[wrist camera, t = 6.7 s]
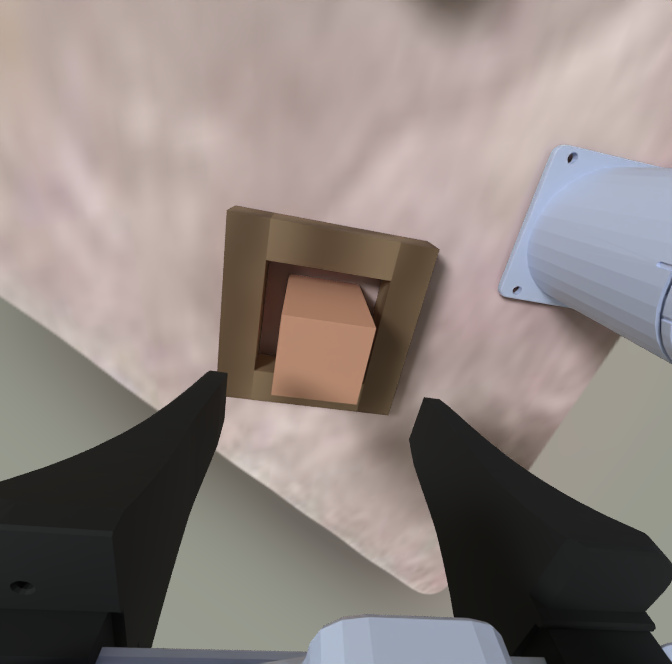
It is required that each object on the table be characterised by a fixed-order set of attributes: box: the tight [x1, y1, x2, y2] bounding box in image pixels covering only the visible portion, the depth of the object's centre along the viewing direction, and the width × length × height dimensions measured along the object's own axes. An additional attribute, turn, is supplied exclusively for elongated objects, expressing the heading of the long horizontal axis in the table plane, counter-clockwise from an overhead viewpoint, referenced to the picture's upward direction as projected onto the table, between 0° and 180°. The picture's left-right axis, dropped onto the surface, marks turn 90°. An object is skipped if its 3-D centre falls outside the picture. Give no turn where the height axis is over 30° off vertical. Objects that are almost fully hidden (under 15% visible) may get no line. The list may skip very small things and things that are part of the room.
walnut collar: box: [217, 206, 439, 415], centre depth 20 cm, size 10×10×2 cm
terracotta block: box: [271, 274, 376, 405], centre depth 18 cm, size 4×4×6 cm
